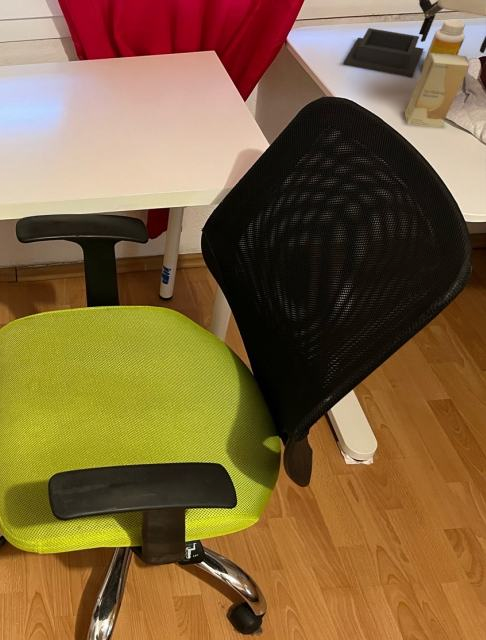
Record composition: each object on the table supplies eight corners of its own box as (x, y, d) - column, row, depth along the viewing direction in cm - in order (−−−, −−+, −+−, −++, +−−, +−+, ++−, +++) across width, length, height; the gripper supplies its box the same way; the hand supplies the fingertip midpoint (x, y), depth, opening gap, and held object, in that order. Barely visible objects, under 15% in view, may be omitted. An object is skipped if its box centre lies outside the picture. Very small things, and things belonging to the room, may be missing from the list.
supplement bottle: (451, 79, 143) (472, 29, 136) (422, 77, 144) (442, 27, 137) (447, 67, 147) (467, 18, 139) (419, 65, 148) (438, 16, 141)
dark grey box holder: (422, 53, 152) (429, 34, 149) (411, 78, 144) (418, 59, 141) (356, 41, 157) (362, 23, 154) (342, 65, 149) (348, 47, 146)
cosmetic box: (406, 125, 131) (431, 62, 122) (403, 114, 134) (428, 52, 125) (443, 128, 130) (471, 64, 121) (439, 117, 132) (466, 54, 124)
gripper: (562, -63, 108) (508, 46, 120) (443, -78, 114) (404, 27, 126) (560, -49, 103) (504, 62, 116) (437, -65, 110) (397, 42, 122)
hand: (452, 44), depth 121 cm, fingers open, 9 cm apart
